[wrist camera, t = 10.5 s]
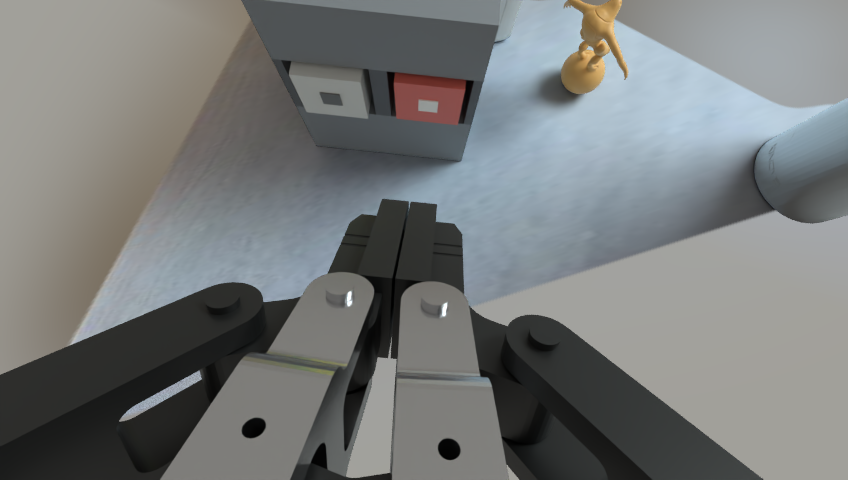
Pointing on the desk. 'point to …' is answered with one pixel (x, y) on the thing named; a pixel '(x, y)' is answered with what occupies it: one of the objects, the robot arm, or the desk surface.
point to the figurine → (588, 65)
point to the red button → (428, 98)
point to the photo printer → (507, 18)
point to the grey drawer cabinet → (384, 62)
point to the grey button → (332, 89)
